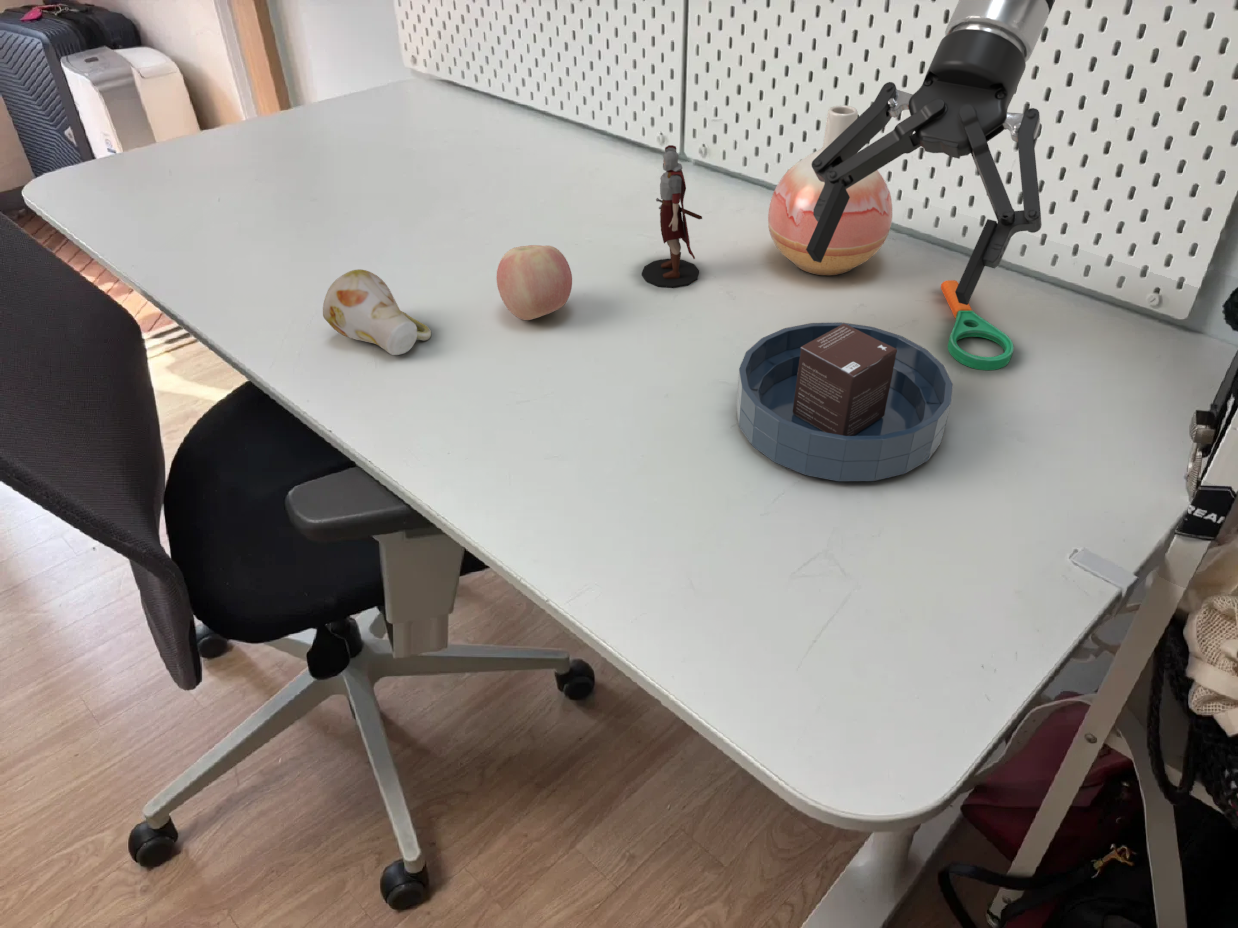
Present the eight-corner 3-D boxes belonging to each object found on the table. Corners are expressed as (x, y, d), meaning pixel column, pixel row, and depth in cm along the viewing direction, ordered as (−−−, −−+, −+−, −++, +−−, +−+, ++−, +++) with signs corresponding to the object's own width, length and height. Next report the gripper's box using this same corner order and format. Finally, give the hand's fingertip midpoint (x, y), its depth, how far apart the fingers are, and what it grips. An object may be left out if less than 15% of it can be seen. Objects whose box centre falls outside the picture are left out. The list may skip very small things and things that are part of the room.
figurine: (639, 261, 110) (638, 134, 100) (700, 258, 110) (705, 132, 101) (644, 289, 105) (643, 158, 95) (708, 286, 105) (714, 155, 95)
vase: (748, 278, 106) (759, 122, 95) (784, 229, 116) (798, 82, 105) (867, 301, 102) (894, 140, 90) (895, 248, 111) (922, 97, 100)
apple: (582, 301, 103) (578, 234, 98) (561, 337, 97) (556, 268, 92) (513, 294, 105) (507, 227, 99) (490, 329, 99) (481, 260, 94)
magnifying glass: (1020, 370, 91) (1024, 355, 90) (957, 371, 91) (961, 356, 90) (975, 293, 103) (978, 279, 101) (919, 294, 103) (922, 280, 102)
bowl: (970, 406, 86) (983, 361, 83) (889, 516, 75) (900, 468, 72) (795, 346, 95) (800, 303, 92) (699, 437, 84) (700, 391, 81)
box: (834, 388, 88) (844, 321, 83) (886, 417, 84) (899, 348, 80) (790, 414, 85) (798, 345, 80) (842, 445, 81) (853, 375, 77)
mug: (393, 376, 93) (329, 293, 88) (360, 375, 101) (300, 298, 96) (447, 331, 95) (388, 248, 91) (411, 333, 103) (355, 257, 99)
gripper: (1136, 99, 78) (1032, 332, 78) (859, 52, 90) (769, 255, 90) (1141, 47, 71) (1028, 302, 72) (842, 4, 83) (745, 224, 83)
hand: (884, 277), depth 81 cm, fingers open, 13 cm apart
